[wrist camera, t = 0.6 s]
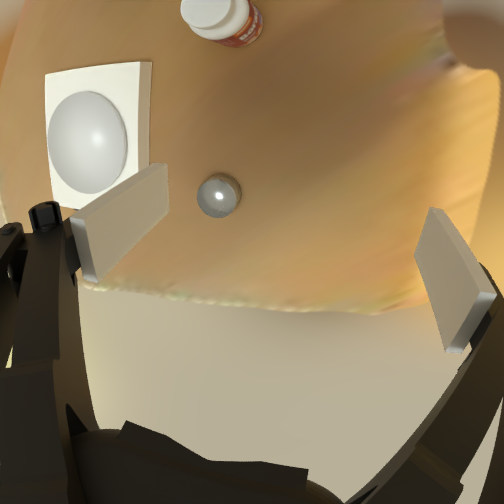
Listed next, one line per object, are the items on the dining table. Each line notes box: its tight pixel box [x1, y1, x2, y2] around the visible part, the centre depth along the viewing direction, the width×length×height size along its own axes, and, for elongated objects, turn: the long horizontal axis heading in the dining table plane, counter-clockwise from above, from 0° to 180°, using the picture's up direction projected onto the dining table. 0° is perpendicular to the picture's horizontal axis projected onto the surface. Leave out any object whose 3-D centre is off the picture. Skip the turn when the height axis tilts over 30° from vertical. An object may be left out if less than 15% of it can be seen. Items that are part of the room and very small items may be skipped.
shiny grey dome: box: [197, 174, 241, 218], centre depth 40 cm, size 5×5×3 cm
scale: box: [45, 62, 152, 211], centre depth 39 cm, size 22×18×4 cm
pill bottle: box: [181, 0, 263, 47], centre depth 25 cm, size 6×6×11 cm
